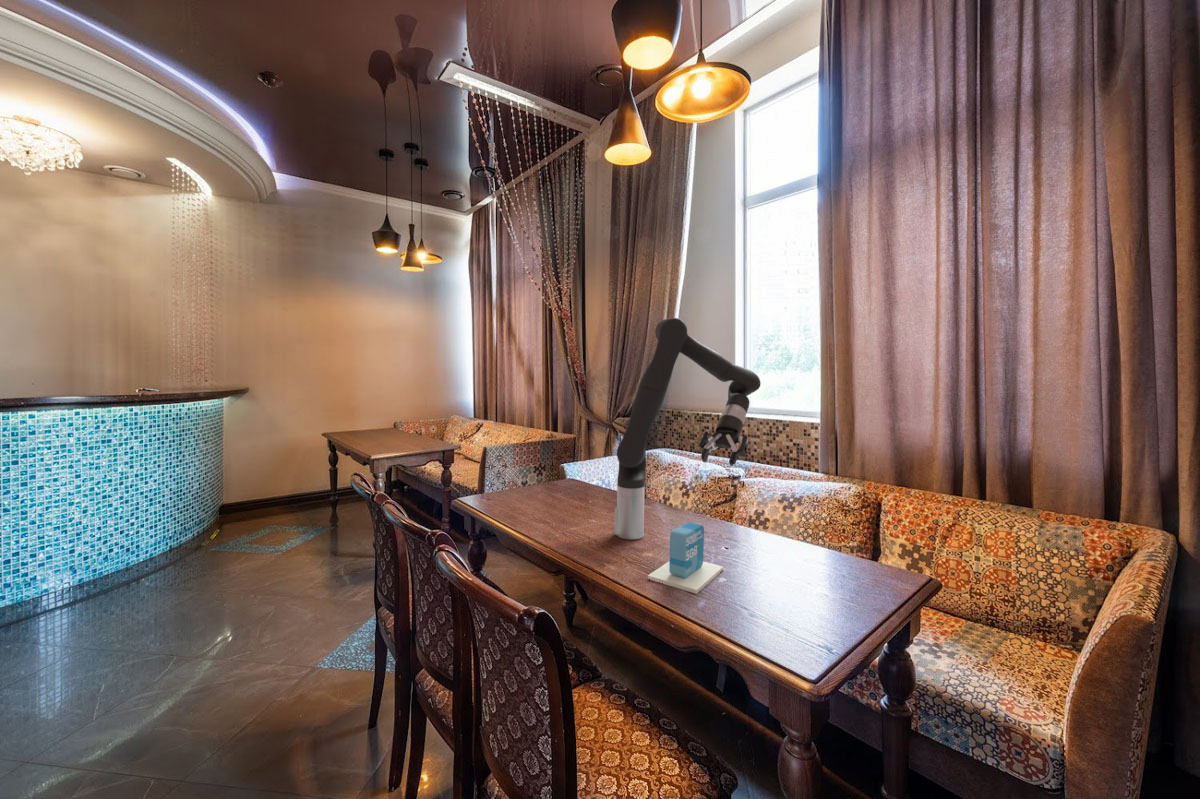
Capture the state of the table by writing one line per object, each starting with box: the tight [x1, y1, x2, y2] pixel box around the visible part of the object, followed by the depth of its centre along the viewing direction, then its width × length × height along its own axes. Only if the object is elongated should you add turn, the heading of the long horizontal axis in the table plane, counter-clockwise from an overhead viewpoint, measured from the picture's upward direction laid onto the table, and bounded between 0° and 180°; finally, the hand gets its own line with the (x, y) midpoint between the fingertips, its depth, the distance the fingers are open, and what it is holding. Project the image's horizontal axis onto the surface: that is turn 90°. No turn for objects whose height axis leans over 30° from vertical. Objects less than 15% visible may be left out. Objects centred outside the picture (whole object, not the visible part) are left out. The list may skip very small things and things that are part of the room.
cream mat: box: [647, 560, 724, 595], centre depth 127 cm, size 14×18×1 cm
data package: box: [668, 521, 705, 578], centre depth 127 cm, size 12×4×12 cm, turn 143°
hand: (717, 462), depth 140 cm, fingers open, 8 cm apart
